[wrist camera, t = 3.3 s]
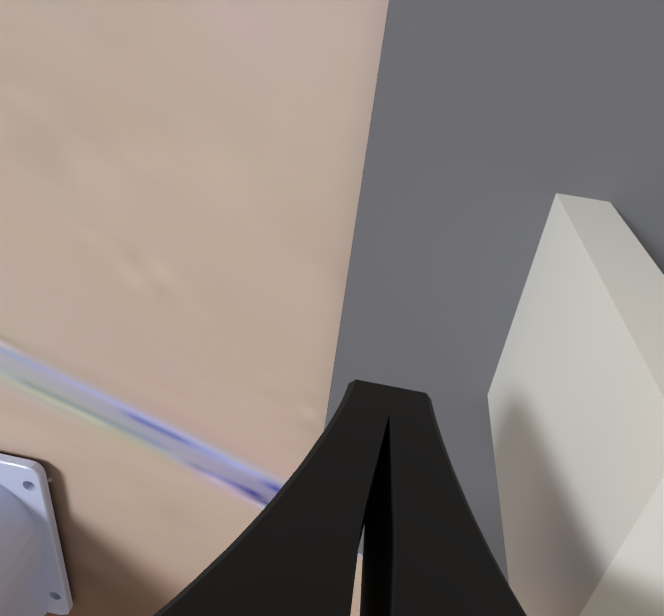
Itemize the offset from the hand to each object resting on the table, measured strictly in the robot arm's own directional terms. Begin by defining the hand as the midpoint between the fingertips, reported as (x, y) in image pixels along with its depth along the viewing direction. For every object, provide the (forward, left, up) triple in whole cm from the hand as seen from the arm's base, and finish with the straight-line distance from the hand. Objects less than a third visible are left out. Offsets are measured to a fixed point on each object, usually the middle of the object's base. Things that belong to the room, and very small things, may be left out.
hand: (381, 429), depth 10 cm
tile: (0, -4, -6) cm, 7 cm away
